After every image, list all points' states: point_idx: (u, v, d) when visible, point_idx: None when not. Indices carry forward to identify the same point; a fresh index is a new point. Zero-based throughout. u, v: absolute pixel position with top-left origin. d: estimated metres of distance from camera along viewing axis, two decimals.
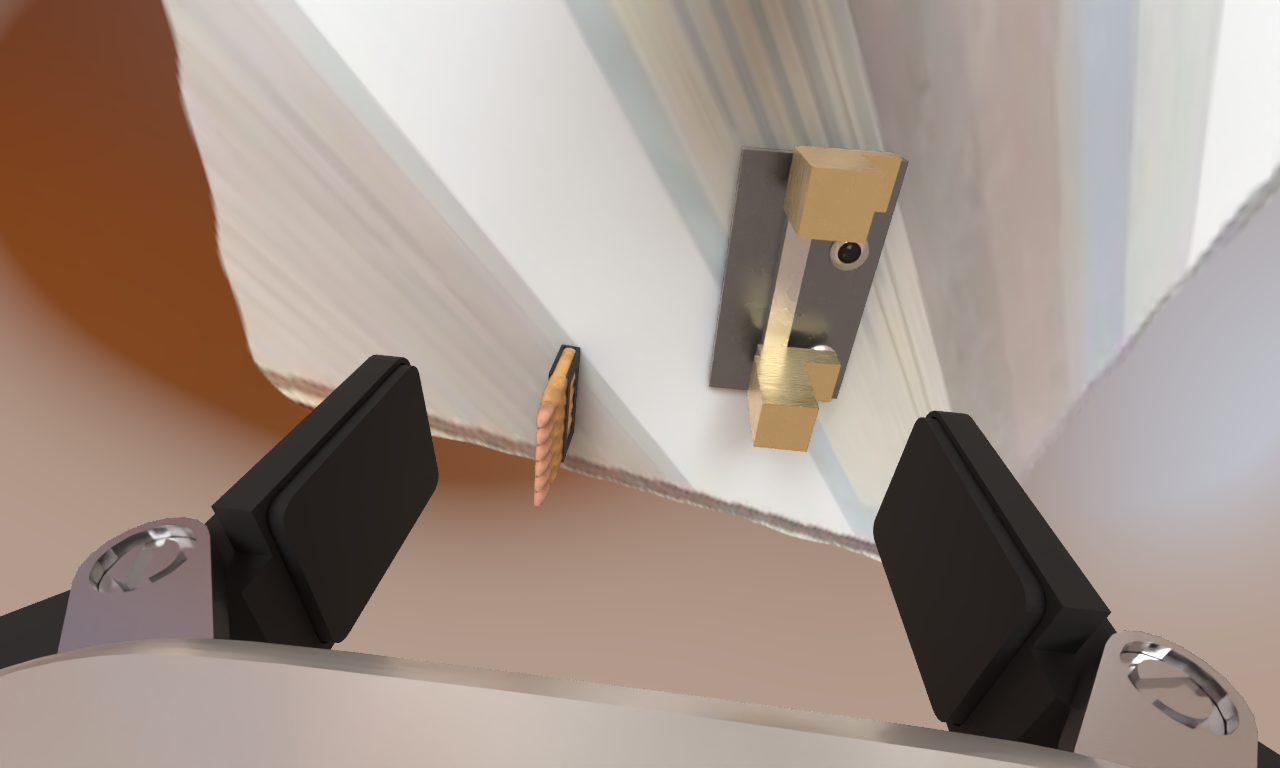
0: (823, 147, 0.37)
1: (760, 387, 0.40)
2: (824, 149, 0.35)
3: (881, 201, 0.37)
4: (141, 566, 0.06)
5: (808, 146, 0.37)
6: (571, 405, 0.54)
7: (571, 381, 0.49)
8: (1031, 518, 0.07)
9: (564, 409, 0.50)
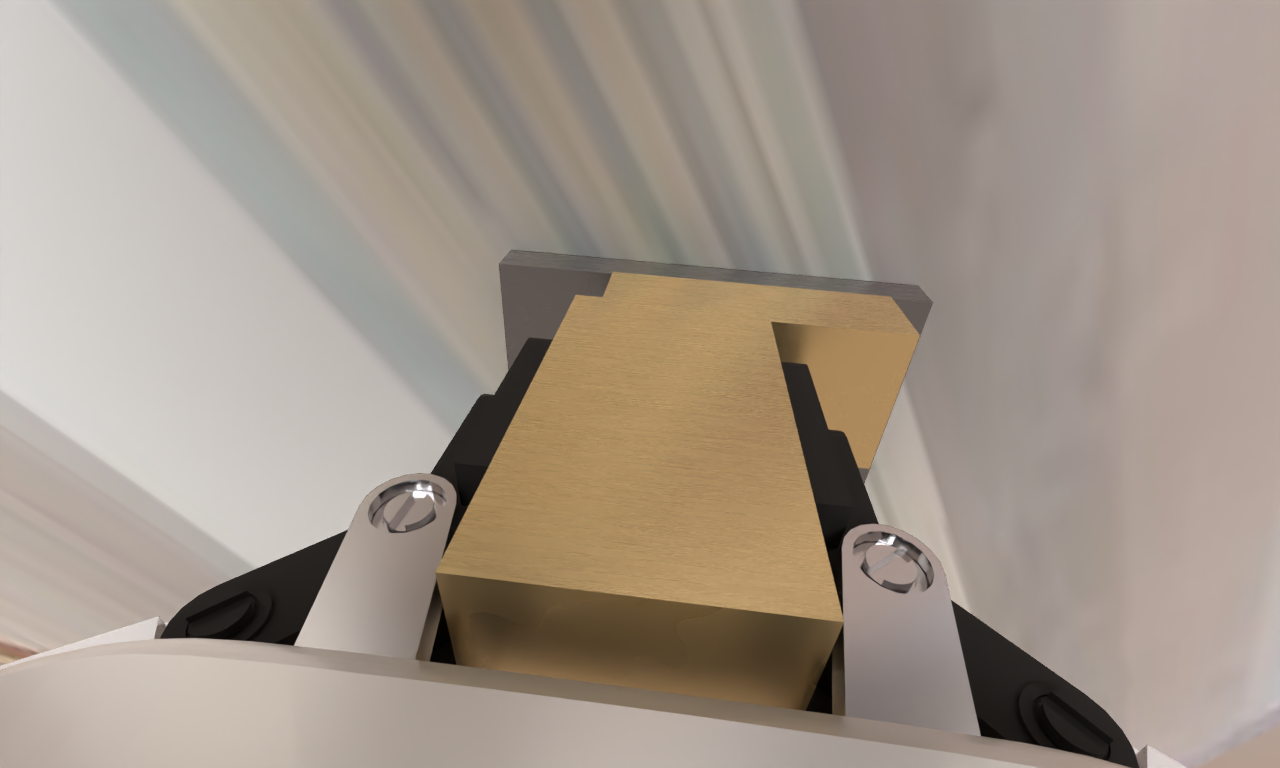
0: (687, 279, 0.13)
1: None
2: (665, 310, 0.11)
3: (855, 443, 0.12)
4: (404, 513, 0.07)
5: (643, 276, 0.13)
6: None
7: None
8: (822, 441, 0.08)
9: None
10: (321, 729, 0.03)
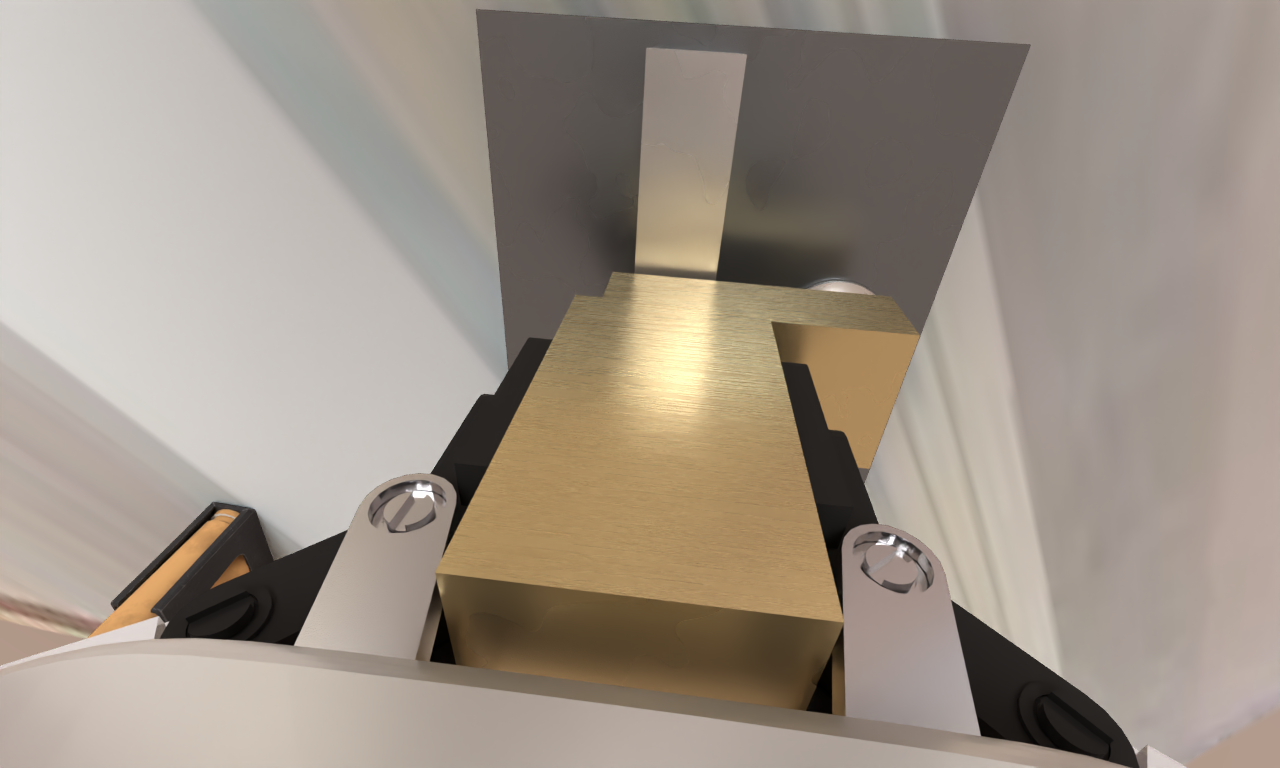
0: (687, 279, 0.13)
1: None
2: (665, 310, 0.11)
3: (855, 443, 0.12)
4: (404, 513, 0.07)
5: (643, 276, 0.13)
6: None
7: None
8: (822, 441, 0.08)
9: None
10: (321, 729, 0.03)
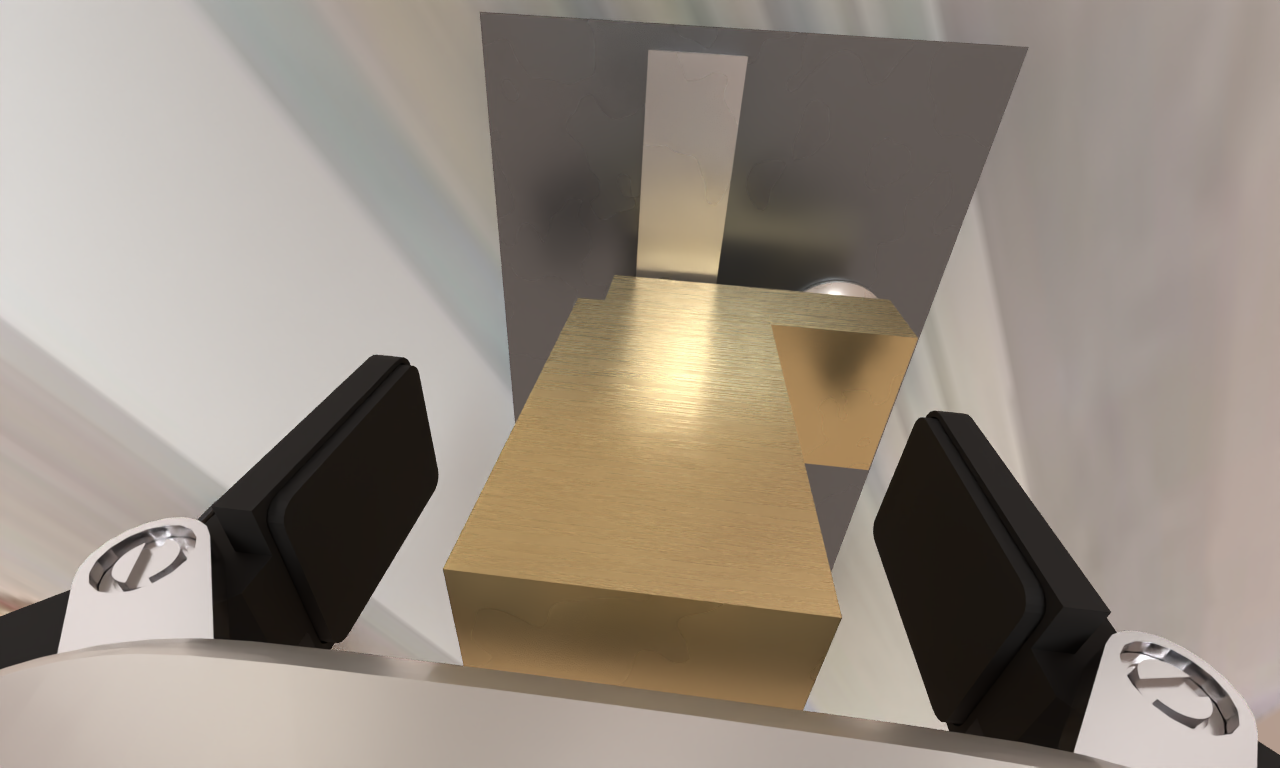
0: (688, 282, 0.13)
1: None
2: (666, 312, 0.11)
3: (854, 445, 0.13)
4: (141, 566, 0.06)
5: (644, 279, 0.13)
6: None
7: None
8: (1031, 518, 0.07)
9: None
10: (321, 729, 0.03)
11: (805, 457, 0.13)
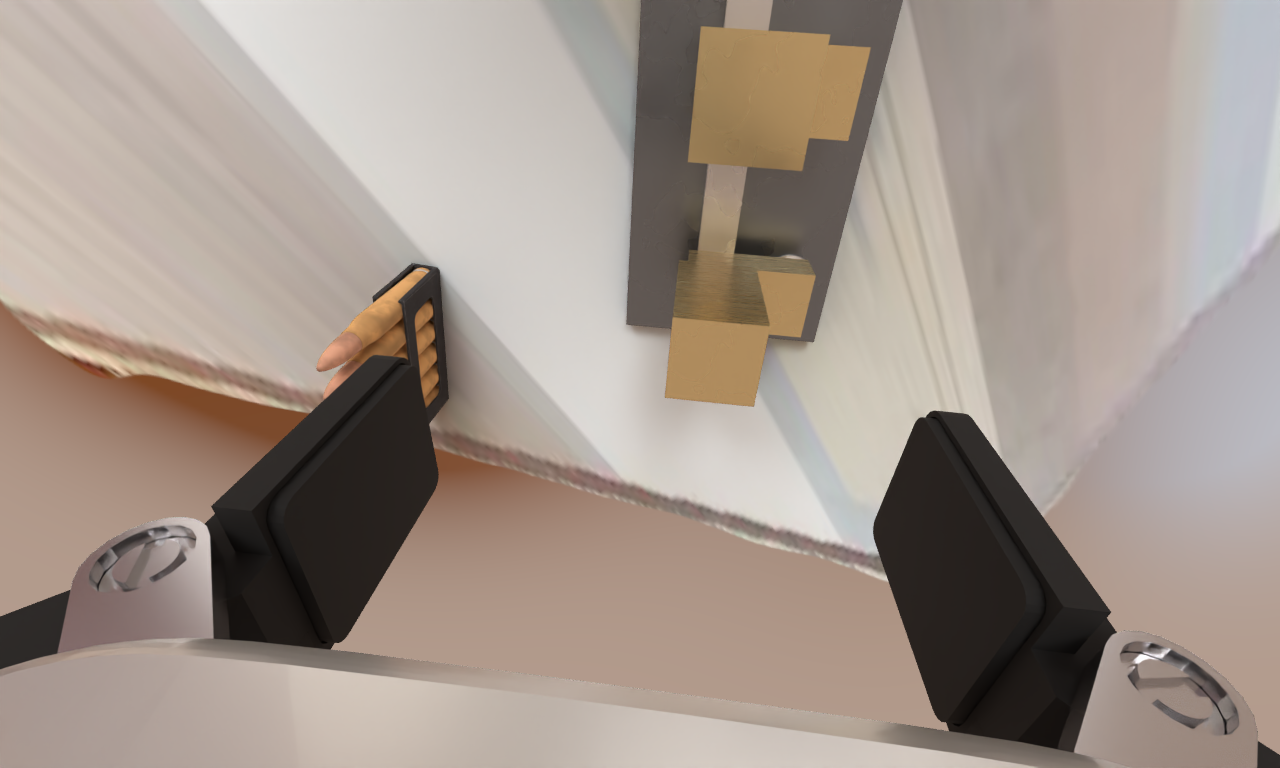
0: None
1: (676, 297, 0.24)
2: None
3: (840, 122, 0.24)
4: (141, 566, 0.06)
5: None
6: (432, 355, 0.37)
7: (416, 313, 0.33)
8: (1031, 518, 0.07)
9: (406, 355, 0.33)
10: (321, 729, 0.03)
11: (814, 134, 0.24)
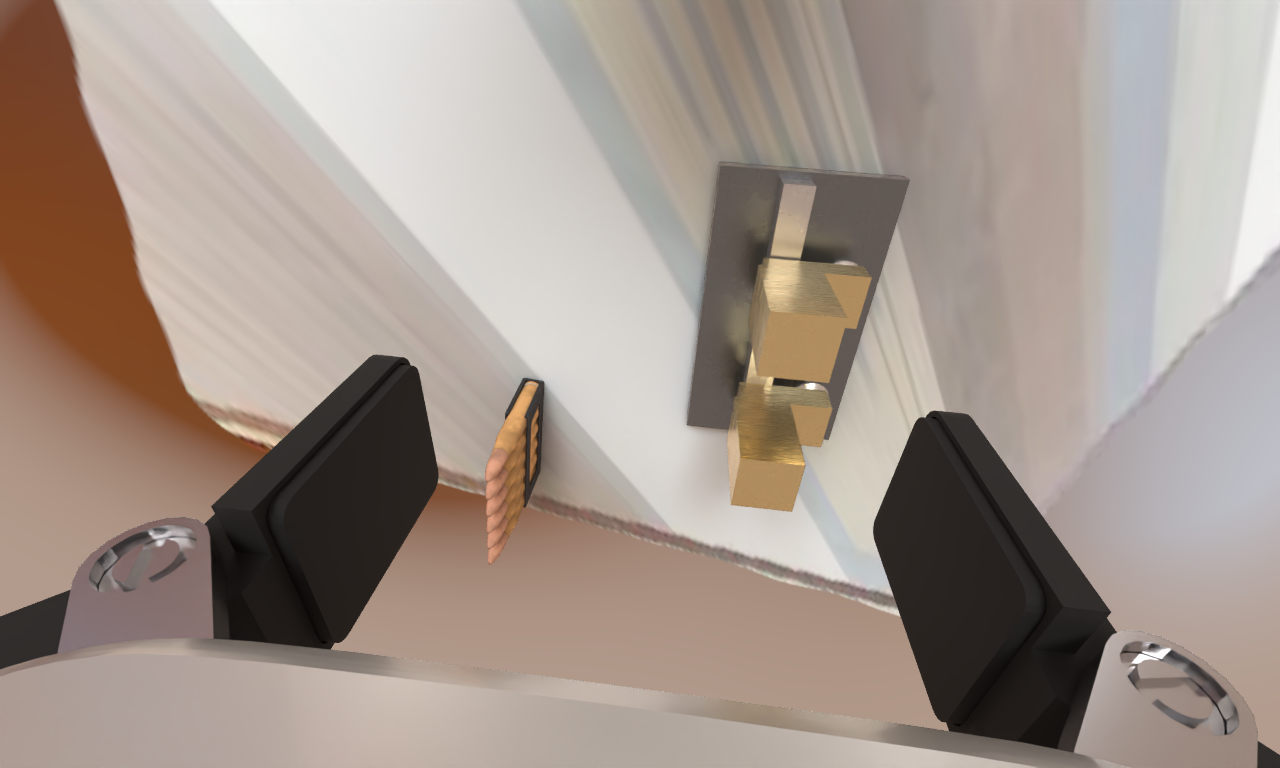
0: (790, 260, 0.36)
1: (739, 437, 0.35)
2: (789, 269, 0.34)
3: (851, 318, 0.35)
4: (141, 566, 0.06)
5: (774, 259, 0.36)
6: (535, 444, 0.48)
7: (532, 420, 0.44)
8: (1031, 518, 0.07)
9: (524, 451, 0.44)
10: (321, 729, 0.03)
11: None
